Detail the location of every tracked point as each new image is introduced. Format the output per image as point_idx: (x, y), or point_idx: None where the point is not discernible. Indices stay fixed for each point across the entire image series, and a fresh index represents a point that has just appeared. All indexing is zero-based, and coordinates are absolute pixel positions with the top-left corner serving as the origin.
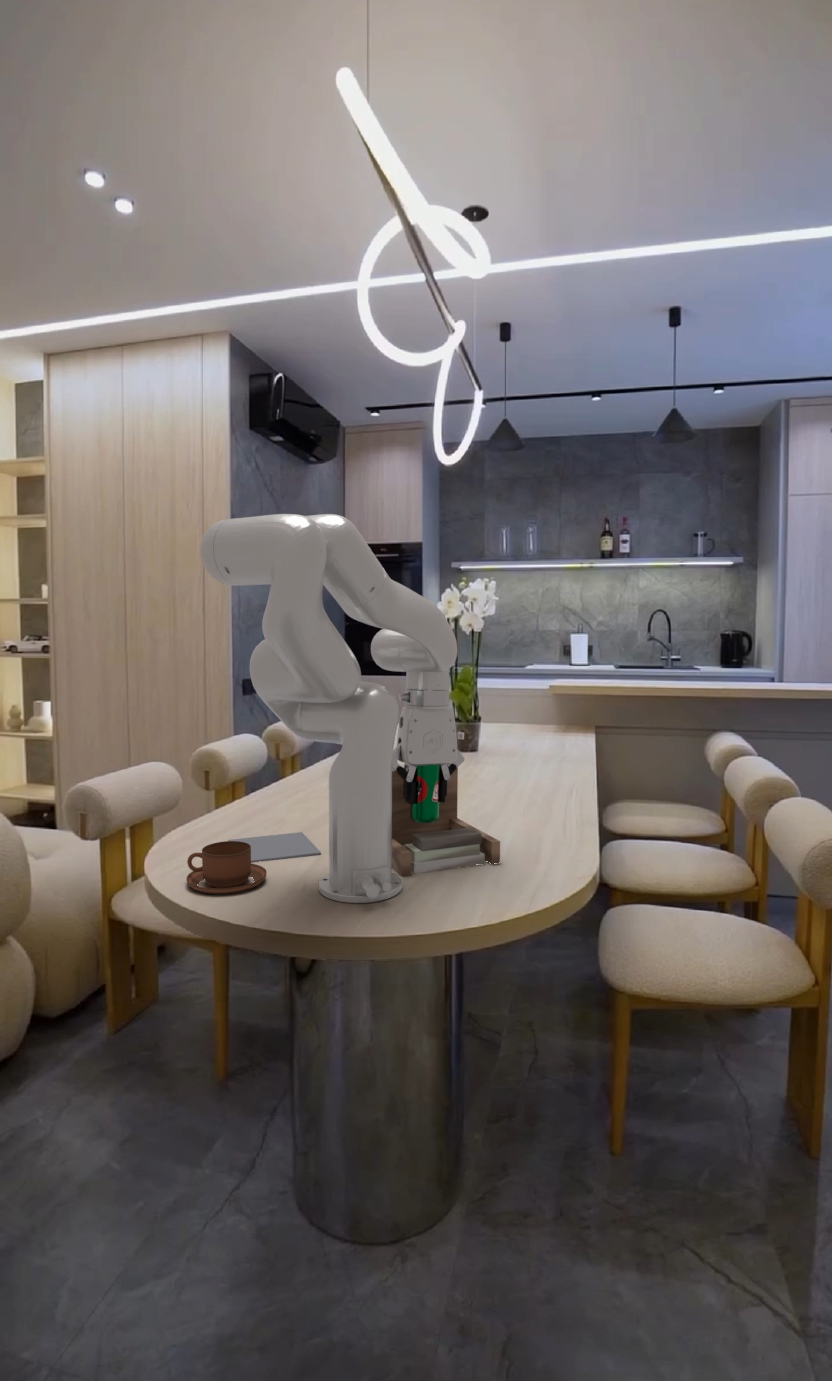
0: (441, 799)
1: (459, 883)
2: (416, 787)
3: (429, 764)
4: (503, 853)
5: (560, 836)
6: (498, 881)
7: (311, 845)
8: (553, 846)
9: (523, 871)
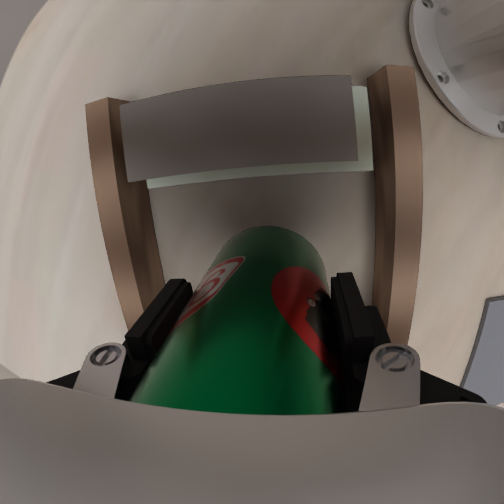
0: (185, 284)
1: (264, 4)
2: (330, 327)
3: (228, 413)
4: (85, 187)
5: None
6: (171, 2)
7: (481, 347)
8: (4, 208)
9: (94, 57)
